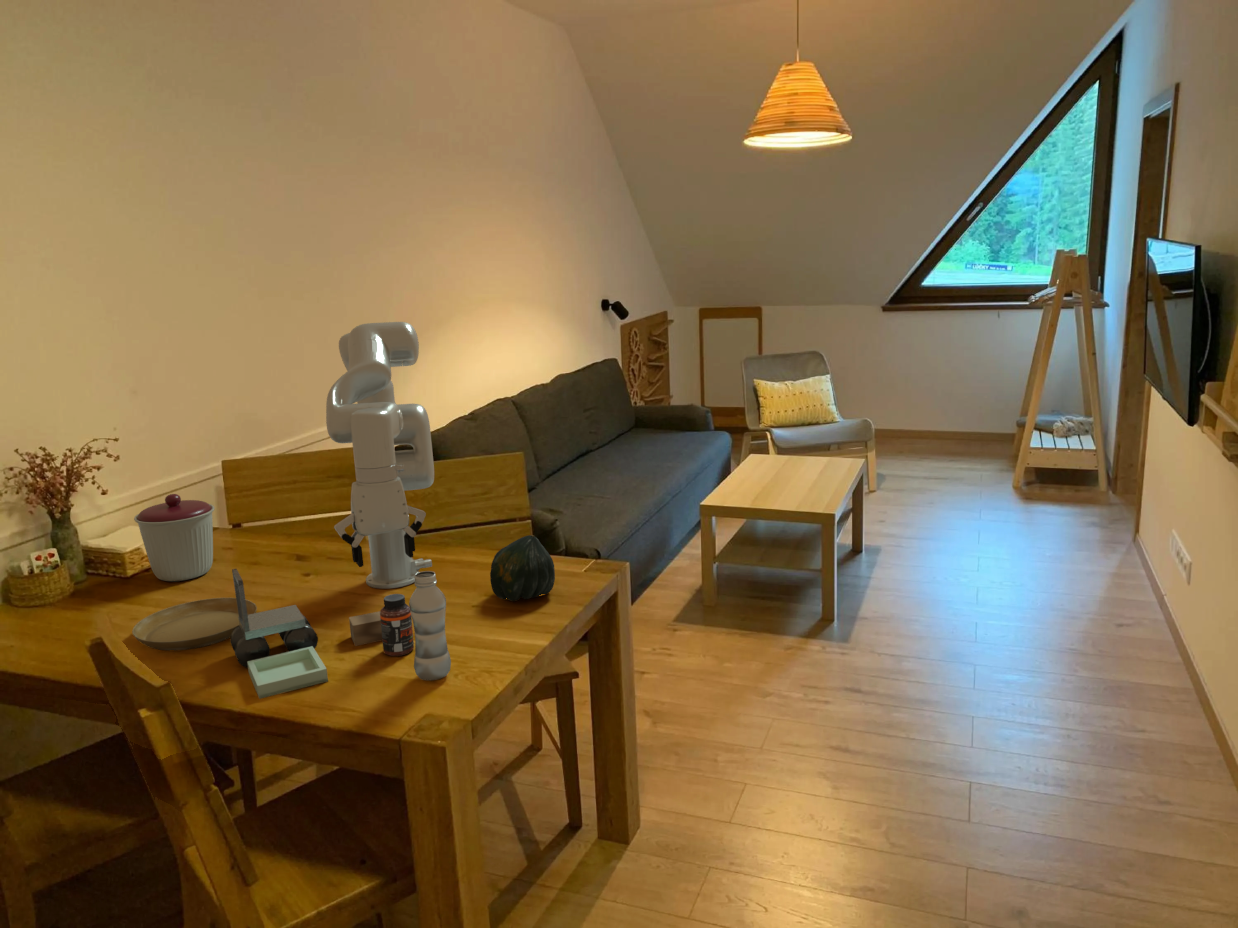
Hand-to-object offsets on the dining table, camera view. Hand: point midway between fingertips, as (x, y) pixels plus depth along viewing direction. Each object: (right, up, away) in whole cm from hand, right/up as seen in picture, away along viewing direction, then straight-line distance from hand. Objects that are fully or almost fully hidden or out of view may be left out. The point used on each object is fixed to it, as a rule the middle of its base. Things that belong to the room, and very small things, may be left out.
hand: (384, 560), depth 173 cm
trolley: (-23, -19, +5) cm, 30 cm away
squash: (+24, -12, +31) cm, 41 cm away
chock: (-6, -17, +11) cm, 21 cm away
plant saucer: (-44, -17, +18) cm, 51 cm away
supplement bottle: (+2, -19, +4) cm, 19 cm away
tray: (-17, -21, -6) cm, 28 cm away
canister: (-65, -10, +54) cm, 85 cm away
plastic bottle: (+11, -21, -8) cm, 25 cm away
